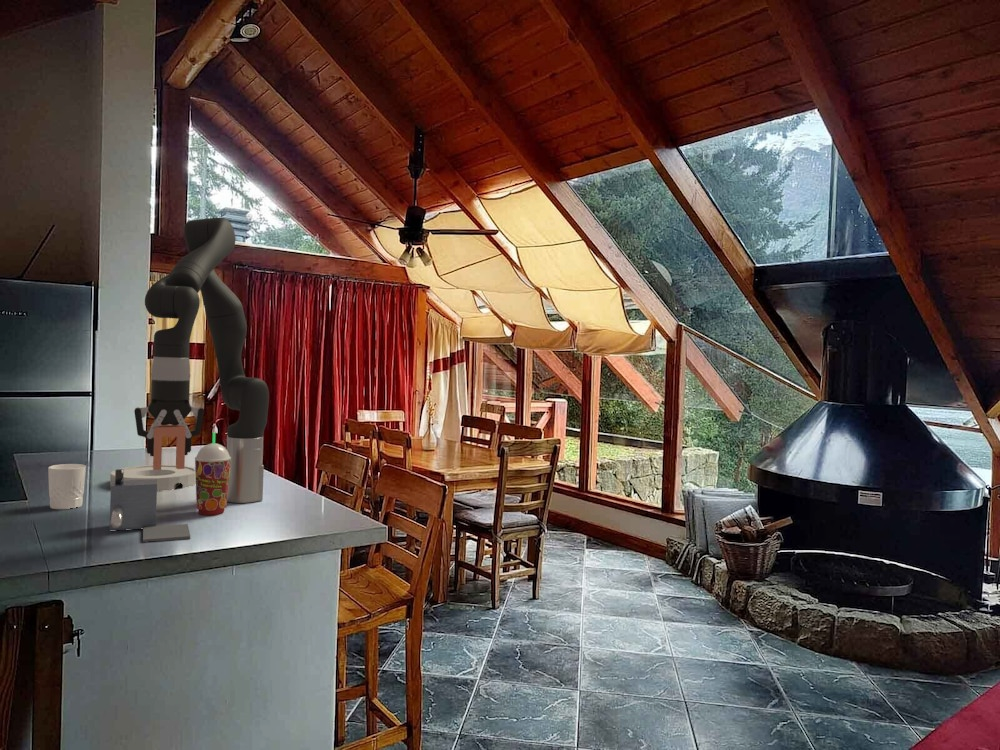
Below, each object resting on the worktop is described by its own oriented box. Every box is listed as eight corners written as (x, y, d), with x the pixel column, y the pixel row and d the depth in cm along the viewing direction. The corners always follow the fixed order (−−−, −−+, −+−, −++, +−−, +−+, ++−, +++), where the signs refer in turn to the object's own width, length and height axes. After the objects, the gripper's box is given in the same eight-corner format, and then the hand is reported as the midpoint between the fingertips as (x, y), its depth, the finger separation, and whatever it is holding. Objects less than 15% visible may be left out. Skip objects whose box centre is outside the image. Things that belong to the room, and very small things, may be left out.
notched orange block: (183, 464, 153) (184, 424, 153) (184, 468, 148) (185, 427, 148) (153, 465, 150) (154, 424, 150) (153, 469, 145) (154, 427, 145)
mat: (187, 526, 156) (187, 523, 156) (190, 538, 147) (190, 536, 147) (143, 529, 152) (143, 526, 152) (142, 542, 143) (142, 539, 143)
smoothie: (194, 517, 165) (196, 434, 164) (191, 510, 172) (194, 430, 172) (231, 515, 169) (234, 434, 168) (227, 508, 176) (230, 430, 175)
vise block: (110, 525, 155) (112, 467, 154) (155, 522, 159) (157, 466, 158) (106, 545, 139) (108, 482, 139) (156, 542, 143) (158, 480, 143)
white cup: (91, 505, 172) (93, 466, 171) (60, 511, 165) (61, 470, 164) (71, 501, 175) (72, 462, 175) (39, 507, 168) (41, 466, 168)
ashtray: (98, 492, 188) (98, 478, 188) (123, 477, 211) (124, 464, 211) (189, 492, 194) (189, 478, 193) (204, 477, 216) (205, 465, 216)
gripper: (205, 377, 155) (203, 451, 156) (133, 376, 149) (131, 453, 149) (208, 379, 149) (205, 456, 149) (132, 378, 142) (130, 459, 143)
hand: (168, 454), depth 149 cm, fingers closed on notched orange block, 6 cm apart
